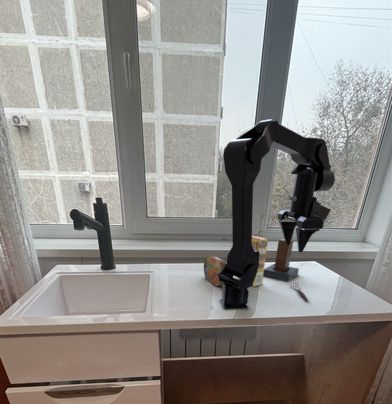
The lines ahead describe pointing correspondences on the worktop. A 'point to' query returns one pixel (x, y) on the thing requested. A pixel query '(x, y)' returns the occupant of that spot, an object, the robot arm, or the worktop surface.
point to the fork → (298, 289)
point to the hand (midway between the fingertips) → (293, 248)
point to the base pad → (280, 273)
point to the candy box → (260, 246)
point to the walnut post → (283, 255)
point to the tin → (213, 269)
